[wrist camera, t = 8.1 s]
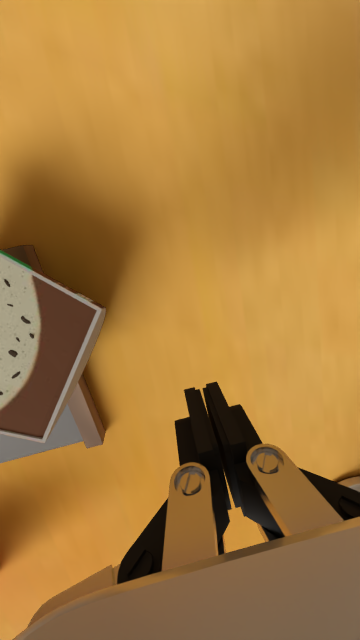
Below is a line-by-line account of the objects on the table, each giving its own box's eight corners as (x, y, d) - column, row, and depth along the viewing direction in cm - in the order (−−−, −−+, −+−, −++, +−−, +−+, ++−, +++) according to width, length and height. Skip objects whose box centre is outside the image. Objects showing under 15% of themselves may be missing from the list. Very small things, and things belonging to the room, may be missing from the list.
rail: (32, 245, 18) (22, 245, 17) (105, 432, 24) (102, 444, 23) (12, 249, 18) (0, 250, 17) (90, 436, 24) (86, 448, 22)
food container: (124, 279, 20) (-5, 220, 18) (112, 284, 14) (-84, 196, 12) (68, 408, 21) (-55, 366, 19) (36, 462, 15) (-146, 410, 14)
